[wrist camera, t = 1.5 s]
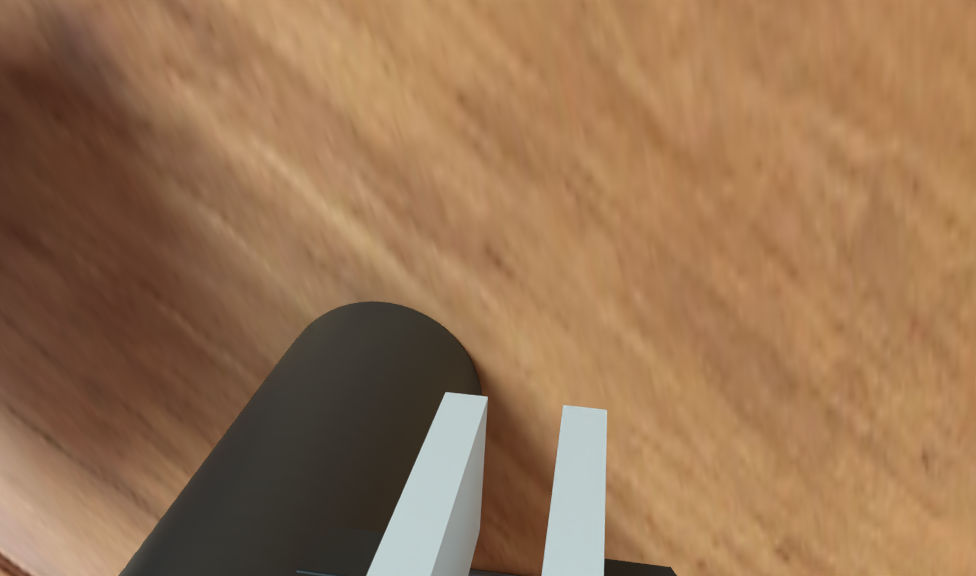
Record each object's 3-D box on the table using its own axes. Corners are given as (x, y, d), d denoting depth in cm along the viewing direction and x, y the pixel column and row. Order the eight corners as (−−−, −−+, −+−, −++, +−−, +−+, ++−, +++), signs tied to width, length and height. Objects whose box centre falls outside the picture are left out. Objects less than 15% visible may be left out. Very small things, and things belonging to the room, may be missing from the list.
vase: (255, 326, 59) (-58, 609, 31) (448, 280, 56) (290, 547, 28) (321, 503, 62) (92, 895, 35) (506, 468, 59) (414, 866, 32)
